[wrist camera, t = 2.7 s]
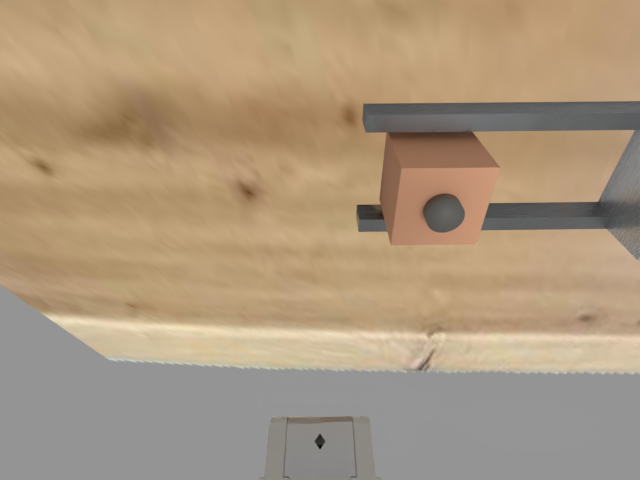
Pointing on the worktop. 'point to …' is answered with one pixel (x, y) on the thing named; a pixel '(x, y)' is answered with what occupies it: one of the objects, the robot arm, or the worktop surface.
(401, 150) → the block
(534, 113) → the rail
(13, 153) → the worktop surface
